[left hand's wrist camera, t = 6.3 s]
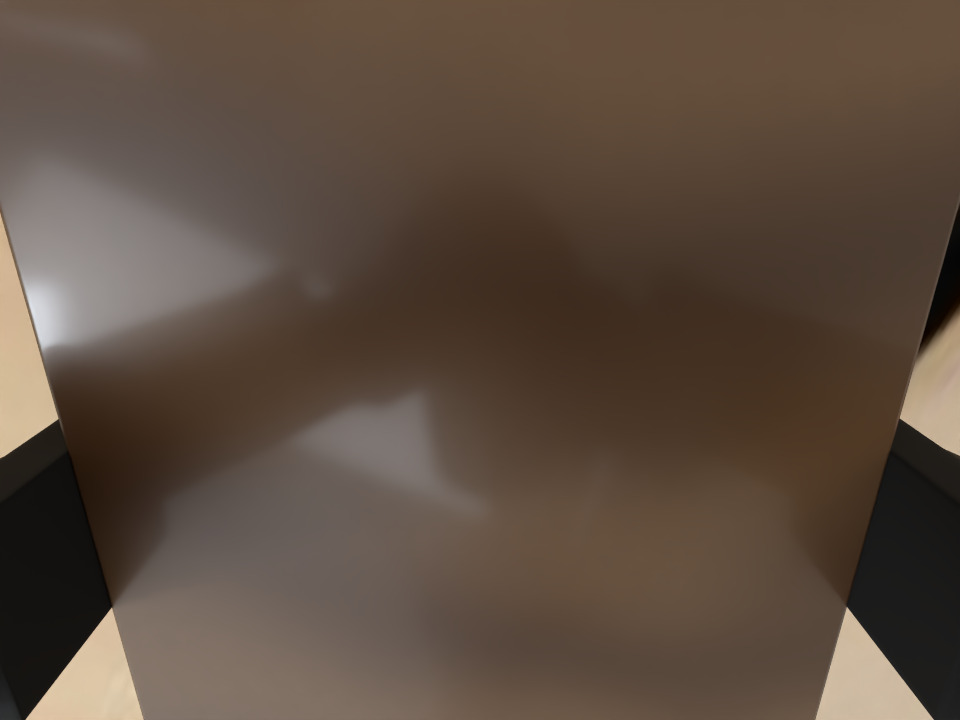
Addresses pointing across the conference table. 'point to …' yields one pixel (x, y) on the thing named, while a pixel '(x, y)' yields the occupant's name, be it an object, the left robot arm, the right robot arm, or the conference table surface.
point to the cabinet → (479, 337)
